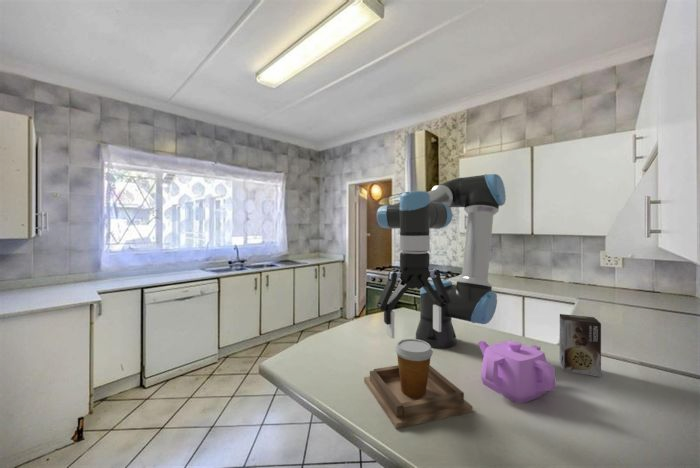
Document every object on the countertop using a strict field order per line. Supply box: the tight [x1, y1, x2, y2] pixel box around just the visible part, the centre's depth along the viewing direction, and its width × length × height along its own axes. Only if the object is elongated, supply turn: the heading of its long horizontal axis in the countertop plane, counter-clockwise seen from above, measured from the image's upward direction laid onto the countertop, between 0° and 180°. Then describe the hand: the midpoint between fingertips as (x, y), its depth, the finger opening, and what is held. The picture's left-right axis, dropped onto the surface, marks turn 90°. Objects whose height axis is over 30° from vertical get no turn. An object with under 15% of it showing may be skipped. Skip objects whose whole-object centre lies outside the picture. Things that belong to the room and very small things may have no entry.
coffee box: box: [558, 313, 602, 378], centre depth 88 cm, size 9×6×16 cm
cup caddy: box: [363, 364, 473, 430], centre depth 74 cm, size 20×20×4 cm
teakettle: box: [477, 340, 557, 404], centre depth 78 cm, size 17×17×12 cm
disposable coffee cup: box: [394, 338, 434, 398], centre depth 74 cm, size 10×10×12 cm
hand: (414, 333), depth 74 cm, fingers open, 13 cm apart
